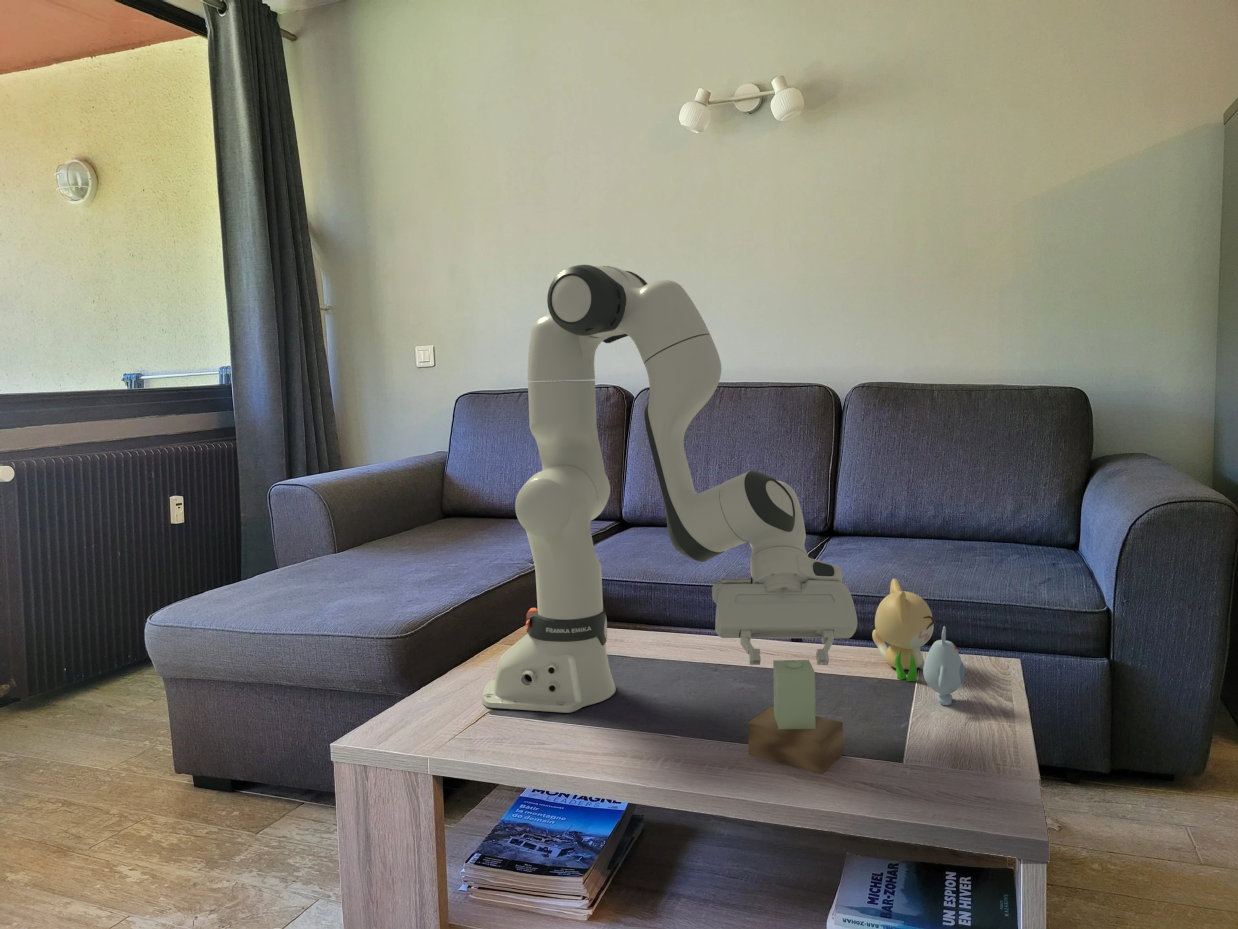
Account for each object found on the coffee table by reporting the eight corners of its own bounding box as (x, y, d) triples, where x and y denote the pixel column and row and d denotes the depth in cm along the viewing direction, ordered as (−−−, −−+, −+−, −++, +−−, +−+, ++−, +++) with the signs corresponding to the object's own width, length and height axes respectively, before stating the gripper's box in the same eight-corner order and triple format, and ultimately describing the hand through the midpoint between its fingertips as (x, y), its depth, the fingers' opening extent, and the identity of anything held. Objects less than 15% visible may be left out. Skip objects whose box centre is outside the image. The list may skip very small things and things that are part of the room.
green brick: (778, 729, 121) (777, 669, 120) (774, 714, 126) (773, 657, 125) (815, 729, 120) (814, 668, 119) (809, 714, 125) (808, 656, 124)
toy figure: (963, 716, 135) (963, 639, 133) (920, 711, 137) (920, 636, 136) (966, 692, 144) (966, 620, 143) (926, 688, 147) (926, 617, 145)
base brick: (748, 757, 124) (748, 722, 123) (771, 739, 129) (771, 706, 129) (822, 776, 117) (821, 740, 117) (843, 756, 123) (842, 722, 122)
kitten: (942, 683, 148) (942, 596, 147) (880, 682, 150) (880, 596, 149) (927, 655, 163) (927, 575, 161) (871, 654, 165) (870, 575, 163)
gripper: (711, 567, 131) (715, 652, 122) (852, 567, 129) (865, 653, 121) (710, 589, 136) (714, 672, 127) (845, 589, 134) (858, 673, 126)
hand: (788, 663), depth 124 cm, fingers open, 8 cm apart
